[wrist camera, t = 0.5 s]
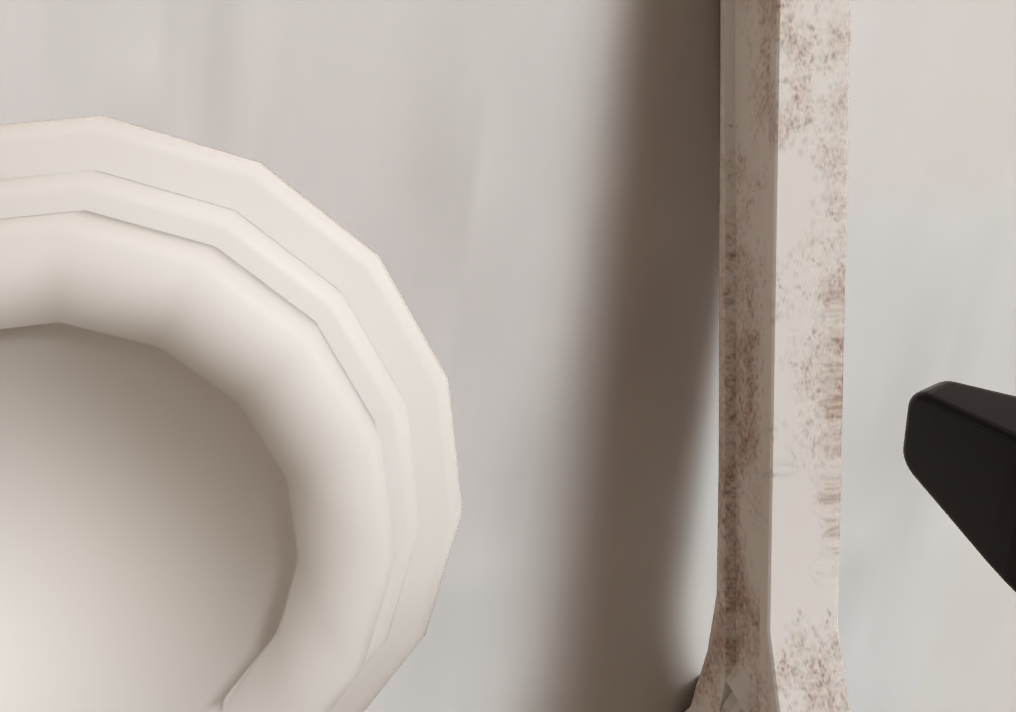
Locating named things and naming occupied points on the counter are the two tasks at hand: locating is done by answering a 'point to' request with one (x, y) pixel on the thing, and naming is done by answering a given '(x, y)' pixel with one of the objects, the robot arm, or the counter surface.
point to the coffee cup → (205, 437)
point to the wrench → (780, 358)
